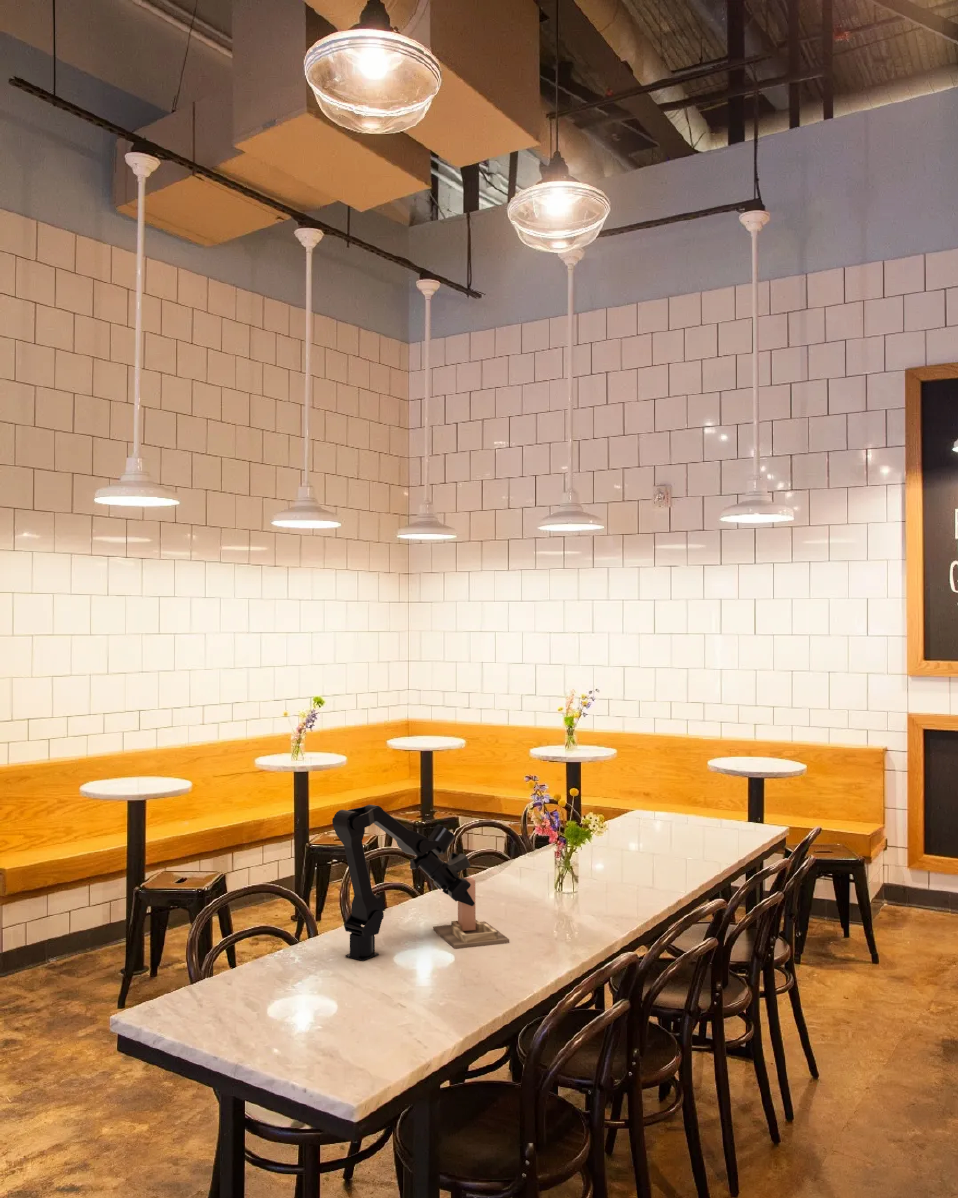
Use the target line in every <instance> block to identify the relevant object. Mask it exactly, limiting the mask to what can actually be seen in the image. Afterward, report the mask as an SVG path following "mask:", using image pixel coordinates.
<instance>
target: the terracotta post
mask: <svg viewBox="0 0 958 1198" xmlns="http://www.w3.org/2000/svg"><path fill="white" fill-rule="evenodd" d="M463 878H464V879H466V880H467V881H468V882H469V883H470V884H471V886H470V887H469V889H468V890H467V891H468V893H469V895H470V896H471V898H472V900H473V901H474V903H475V904H474V905H473V906H470V905H467V904H465V903H462V902H459V901H457V921H458V924H459V925H460V926H462V931H468V930H476V920H477V919H476V917H477V916H476V879H474V878H473V877H471V876H470V877H469V876H468V877H463Z"/></svg>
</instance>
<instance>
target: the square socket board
mask: <svg viewBox="0 0 958 1198" xmlns="http://www.w3.org/2000/svg"><path fill="white" fill-rule="evenodd" d="M450 922H451V924H443V925H437V926H436V925H434V926H433V927H432V930H433V931H434V933H436V934H437V935H438V936H439V937H440V938H441V939H443V940H444V941H445V942H446V943H447V944H448V945H449V946H451V947H452V948H453V949H454V950H456V949H464V948H466V949H467V948H474V947H482V946H483V947H484V946H490V945H491V946H492V945H493V946H494V945H501V944H502V945H503V944H508V943H510V938H508V937H507V936H506V935H504V934H503V933H501V932H500V931H499V930H497V929H496V928H495V927H493V926H492V925H491V924H489V923H488V922H487V921H484V920H483V921H478V920H477V919H476V930H468V931H462V926H460V925H459V924H458V920H453V921H452V920H451V921H450Z"/></svg>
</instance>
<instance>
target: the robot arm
mask: <svg viewBox="0 0 958 1198" xmlns="http://www.w3.org/2000/svg"><path fill="white" fill-rule="evenodd" d="M331 823H332V827H333V829H334V832H335V835H336V837H338V839H339V840H340V842H341V843H342V844H343V849H344V852H345V857H346V862H347V866H348V867H347V868H348V871H349V877H350V882H351V886H352V890H353V899H352V902H351V913H350V915H349V916H348V917H347V919H346V921H345V922H344V924H343V927H344V930H345V932H348V933H350V934H349V953H346V954H345V955H344V956H345V957H346V958H350V959H353V960H358V961H366V960H368V959H369V960H370V959H371V958H374V957H376V956H379V952H375V951H376V947H375V945H376V943H375V942H376V935H379V932H380V928H381V925H382V921H383V919H384V917H385V916H384V912H385V911H386V909H385V908H384V903H383V897H382V896H381V895H377V894H375V893H374V892H373V888H372V883H371V879H370V874H369V873H370V872H369V869H368V864H367V860H366V859H367V858H366V855H365V854H366V853H365V850H364V846H363V845H364V844H363V840H364V837H365V834H366V833H365V832H366V828H368V827H370V826H371V825H373V824H374V825H375V826H376V827H378V828H379V829H380V830H382V831H383V832H384V833H386V834H387V835H389V836H390V837H391V838H393V839H394V840H395V842H396V844H397V846H398V847H399V849H400V850H401V851H402V852H403V853H405V854H407V855H411V856H415V857H414V858H411V859H410V860H409V862H410V865H409V868H410V870H417V869H418V868H420V869H421V870H422V871H423V872H424V873H425V874H426V875H427V877H428V878H429V879H430V880H432V881H433V883H432V884H433V885H434V886H435V887H436V889H438V890H440V891H441V890H442V893H444V894H446V895H448V896H449V897H450V898H451V899H452V900H453V901H454V902H456V903H458V901H459V902H462V903H465V904H467V905H470V906H473V905H474V904H475V905H476V902H475V903H474V901H473V900H472V898H471V896H470V895H469V893H468V891H467V890H468V889H469V887H470V886H471V884H470V883H469V882H468V881H467V880H466V879H464V878H465V877H460V874H459V873H460V872H462V871H464V870H466V869H469V868H471V863H470V861H469V858H468V856H467V854H465V853H458V854H457V853H456V852H454V851H453V852H451V853H449V859H448V861H447V862H445V861H444V860H442V859H441V858H440V857H439V855H445V853H446V852H447V850H448V849H449V847H450V846H451V845H452V843H453V842H454V841H455V839H456V836H455V835H454V833H453V832H452V831H450V830H449V829H448V828H446V827H444V825H442V824H436V825H435V827H434V829H433V830H432V832H431V834H430V835H429V836H428V837H427V836H426V835H424V834H421V833H419V832H417V831H414V830H411V829H409V828H407V827H406V826H405V825H403V824H402V823H401V822H400V821H398V820H397V819H396V818H394V817H393V816H391V815H390V814H389V813H388V812H386V811H385V810H384V809H383V808H382V807H381V806H380V805H375V804H367V805H364V806H361V807H356V808H355V807H354V808H351V809H340V810H337V812H335V814H334V816H333V818H332V822H331Z"/></svg>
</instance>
